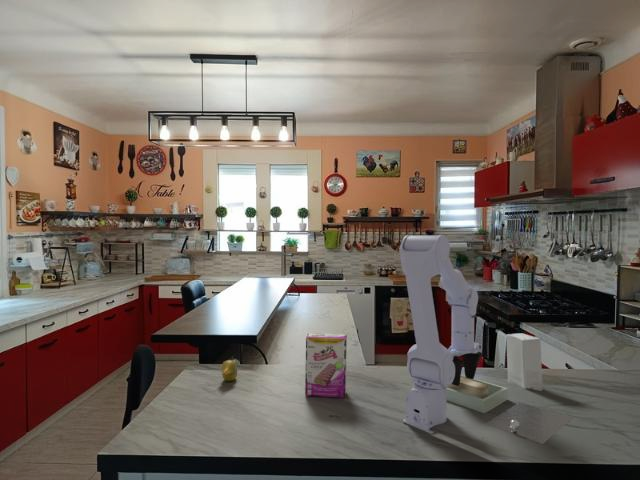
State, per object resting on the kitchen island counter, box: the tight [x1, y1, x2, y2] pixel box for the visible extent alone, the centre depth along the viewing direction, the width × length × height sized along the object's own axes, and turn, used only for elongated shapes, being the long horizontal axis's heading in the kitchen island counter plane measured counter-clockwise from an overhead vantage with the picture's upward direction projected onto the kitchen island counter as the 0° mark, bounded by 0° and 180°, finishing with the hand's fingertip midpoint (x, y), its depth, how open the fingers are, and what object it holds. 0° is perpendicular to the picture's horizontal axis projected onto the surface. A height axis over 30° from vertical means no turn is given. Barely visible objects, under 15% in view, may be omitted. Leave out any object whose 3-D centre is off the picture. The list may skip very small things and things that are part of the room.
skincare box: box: [506, 332, 544, 392], centre depth 116 cm, size 8×6×15 cm
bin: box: [447, 374, 509, 414], centre depth 107 cm, size 13×19×4 cm
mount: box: [485, 401, 573, 445], centre depth 92 cm, size 18×12×4 cm, turn 131°
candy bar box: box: [304, 332, 348, 399], centre depth 109 cm, size 11×5×16 cm, turn 84°
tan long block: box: [447, 377, 488, 399], centre depth 107 cm, size 12×4×4 cm, turn 41°
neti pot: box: [220, 359, 238, 382], centre depth 120 cm, size 4×15×6 cm, turn 1°
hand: (462, 381), depth 107 cm, fingers open, 7 cm apart
